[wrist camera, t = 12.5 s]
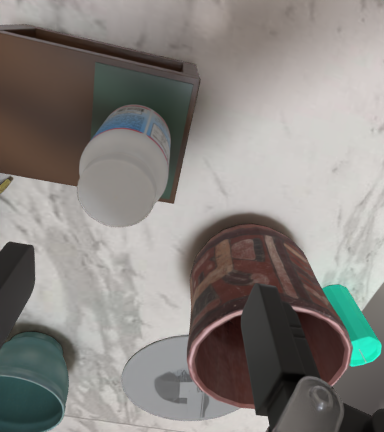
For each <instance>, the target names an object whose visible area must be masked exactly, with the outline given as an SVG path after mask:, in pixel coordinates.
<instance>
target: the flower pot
mask: <svg viewBox="0 0 384 432" xmlns="http://www.w3.org/2000/svg"><path fill="white" fill-rule="evenodd" d="M68 387H69V378H68V371H67V366H66V363H65V361H64V358H63V350H62V347H61V345H60V344H59V343H58V342H57V341H56V340H55V339H54V338H52V337H50V336H48V335H46V334H43V333H38V332H24V333H20V334H17V335H15V336H14V337H13V338H12V339H11V340H10V341H8V342H6V343H4V344H3V346H2V347H1V349H0V432H46V431H49V430H51V429H53V428H54V427H56V426H57V425H58V424H59V423H60V422H61V421H62V419H63V417H64V413H65V407H66V406H65V404H66V400H67V395H68Z"/></svg>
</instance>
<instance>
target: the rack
mask: <svg viewBox="0 0 384 432" xmlns="http://www.w3.org/2000/svg"><path fill="white" fill-rule="evenodd" d="M199 84H200V77H199V74H198V70H197V67H196V65H195V64H191V63H187V62H183V61H179V60H174V59H170V58H166V57H162V56H157V55H153V54H149V53H145V52H141V51H136V50H132V49H128V48H124V47H120V46H115V45H111V44H107V43H103V42H98V41H94V40H90V39H86V38H82V37H77V36H73V35H69V34H65V33H60V32H56V31H52V30H48V29H44V28H39V27H35V26H31V25H27V24H25V25H0V173H5V174H11V175H16V176H22V177H27V178H33V179H38V180H44V181H50V182H55V183H61V184H66V185H72V186H78V181H79V179H80V175H79V164H80V159H81V155H82V153H83V151H84V149H85V147H86V146H87V144H88V143H89V142H90V140H91V139H92V138H93V136H94V135H95V134H96V132H97V131H98V130H99V128H100V127H101V126H102V124H103V123H104V122H105V120H106V119H107V118H108V116H109V115H110V114H111V113H112V112H113V111H115V110H116V109H118V108H120V107H122V106H125V105H133V104H134V105H142V106H146V107H148V108H150V109H152V110H154V111H155V112H157V113H158V114H159V115H160V116H161V117H162V118H163V120H164V121H165V123H166V124H167V126H168V129H169V132H170V138H171V144H170V159H169V172H168V181H167V185H166V188H165V191H164V192H163V194H162V196H161V197H160V198H159V200H158V201H161V202H167V203H172V204H173V203H174V200H175V195H176V191H177V186H178V181H179V177H180V172H181V168H182V163H183V158H184V154H185V149H186V144H187V140H188V135H189V130H190V126H191V121H192V117H193V112H194V107H195V103H196V98H197V93H198V89H199Z"/></svg>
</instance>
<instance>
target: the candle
mask: <svg viewBox="0 0 384 432" xmlns="http://www.w3.org/2000/svg"><path fill="white" fill-rule="evenodd" d="M322 290H323V292H324V293H325V295H326V297H327V299H328V300H329V302H330V303H331V305H332V306H333V308H334V310H335V311H336V313H337V314H338V316H339V317H340V319H341V320H342V322H343V324H344V325H345V327H346V329H347V331H348V334H349V337H350V340H351V343H352V346H353V351H352V356H351V361H350V366H352V367H353V366H358V365H363V364H366V363H369V362H372V361H374V360H375V359H376V358H377V357H378V356H379V355H380V353H381V343H380V341H379V340H378V338H377V337H376V335H375V333H374V332H373V330H372V329H371V327H370V325H369V324H368V322H367V320H366V319H365V317H364V315H363V314H362V312H361V311H360V309H359V307H358V306H357V304H356V302H355V301H354V299H353V297H352V296H351V294H350V293H349V291H348V289H347V288H346V287H344V286H341V285H329V286H327V287H325V288H323V289H322Z"/></svg>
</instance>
